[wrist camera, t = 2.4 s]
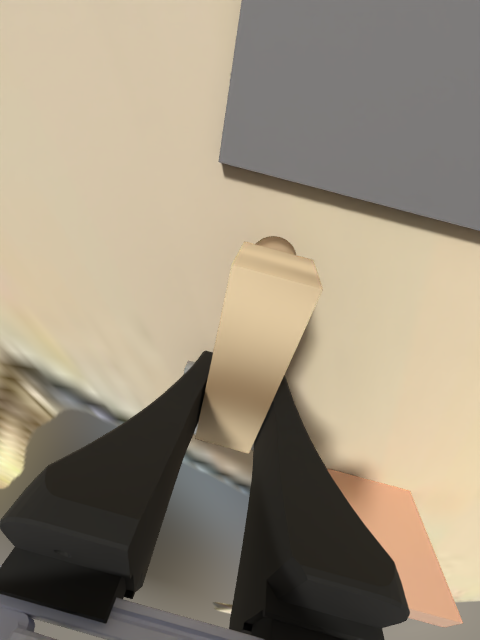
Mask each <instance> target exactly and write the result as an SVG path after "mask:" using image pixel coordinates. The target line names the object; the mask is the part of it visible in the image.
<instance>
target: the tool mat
mask: <svg viewBox="0 0 480 640" xmlns="http://www.w3.org/2000/svg"><path fill="white" fill-rule="evenodd" d="M219 162H220V163H224V164H228V165H231V166H235V167H239V168H243V169H247V170H250V171H254V172H258V173H262V174H266V175H269V176H273V177H277V178H281V179H285V180H288V181H292V182H296V183H300V184H304V185H307V186H311V187H315V188H319V189H323V190H326V191H330V192H334V193H338V194H342V195H345V196H349V197H353V198H357V199H361V200H364V201H368V202H372V203H376V204H380V205H383V206H387V207H391V208H395V209H399V210H402V211H406V212H410V213H414V214H418V215H421V216H425V217H429V218H433V219H437V220H440V221H444V222H448V223H452V224H456V225H459V226H463V227H467V228H471V229H475V230H478V231H480V0H242V2H241V9H240V16H239V23H238V30H237V37H236V44H235V51H234V58H233V65H232V72H231V79H230V86H229V93H228V99H227V106H226V113H225V120H224V127H223V134H222V141H221V148H220V155H219Z"/></svg>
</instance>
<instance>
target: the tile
mask: <svg viewBox="0 0 480 640" xmlns="http://www.w3.org/2000/svg"><path fill="white" fill-rule="evenodd" d="M327 470H328V472H329V473H330V475H331V477H332V478H333V480H334V481H335V483H336V484H337V486H338V487H339V489H340V490H341V492H342V493H343V495H344V496H345V498H346V499H347V501H348V502H349V504H350V505H351V506H352V508H353V509H354V511H355V512H356V513H357V515H358V516H359V517H360V519H361V520H362V522H363V523H364V524H365V526H366V527H367V528H368V529H369V531H370V532H371V533H372V534H373V536H374V537H375V538H376V539H377V541H378V542H379V543H380V544H381V546H382V547H383V548H384V549H385V551H386V552H387V553H388V554H389V556H390V557H391V558H392V559H393V561H394V562H395V565H396V568H397V571H398V574H399V577H400V579H401V582H402V586H403V589H404V593H405V597H406V600H407V604H408V607H409V611H410V615H409V617H408V618H411V619H415V620H418V621H422V622H426V623H429V624H433V625H437V626H440V627H448V626H453V625H458V624H462V623H463V622H462V619H461V617H460V614H459V612H458V609H457V607H456V604H455V602H454V599H453V597H452V594H451V592H450V589H449V587H448V584H447V582H446V579H445V577H444V574H443V572H442V569H441V567H440V564H439V562H438V559H437V557H436V554H435V552H434V549H433V547H432V544H431V542H430V539H429V537H428V534H427V532H426V530H425V527H424V525H423V522H422V520H421V517H420V515H419V512H418V510H417V507H416V505H415V502H414V500H413V497H412V495H411V492H410V491H409V490H405V489H401V488H398V487H394V486H390V485H387V484H383V483H379V482H375V481H372V480H368V479H364V478H361V477H357V476H353V475H349V474H346V473H342V472H338V471H335V470H331V469H327Z"/></svg>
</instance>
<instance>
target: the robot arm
mask: <svg viewBox="0 0 480 640" xmlns="http://www.w3.org/2000/svg"><path fill="white" fill-rule="evenodd" d="M212 356H213V353H212V352H208V351H204V352H203V353H202V355H201V356H200V357H199V358H198V360H197V361H196V362H195V363H194V364H193V365H192V367H191V368H190V369H189V370H188V371H187V372H186V373H185V374H184V375H183V376H182V377H181V378H180V379H179V380H178V381H177V382H176V383H175V384H174V385H172V386H171V387H170V388H169V389H168V390H167V391H166V392H165V393H163V394H162V395H161V396H160V397H159V398H157V399H156V400H155V401H154V402H152V403H151V404H150V405H149V406H147V407H146V408H145V409H143V410H142V411H140V412H139V413H138V414H136V415H135V416H133V417H132V418H130V419H129V420H128V421H126V422H125V423H123V424H122V425H120V426H118V427H117V428H115V429H114V430H112V431H110V432H109V433H107V434H105V435H103V436H102V437H100V438H98V439H97V440H95V441H93V442H92V443H90V444H88V445H86V446H85V447H83V448H81V449H79V450H77V451H75V452H73V453H71V454H70V455H68V456H66V457H64V458H62V459H60V460H58V461H56V462H54V463H52V464H50V465H48V466H47V467H46V468H45V469H44V470H43V471H42V472H41V473H40V474H39V475H38V476H37V477H36V478H35V479H34V480H33V482H32V483H31V484H30V485H29V486H28V487H27V488H26V489H25V490H24V492H23V493H22V494H21V495H20V497H19V498H18V499H17V500H16V501H15V503H14V504H13V505H12V506H11V508H10V509H9V510H8V511H7V513H6V514H5V515H4V516H3V517H2V519H1V521H0V529H1V531H2V532H3V533H4V534H5V535H6V537H7V538H8V539H9V540H10V541H11V543H13V545H14V546H15V548H14V549H13V550H12V552H11V553H10V555H9V556H8V558H7V559H6V560H5V562H4V563H3V564H2V565H0V640H57V639H53V638H50V637H47V636H44V635H41V634H38V633H35V632H34V628H35V623H34V620H33V619H37V620H40V621H44V622H47V623H50V624H54V625H58V626H61V627H65V628H68V629H72V630H76V631H79V632H82V633H86V634H89V635H93V636H96V637H100V638H103V639H107V640H384V636H383V631H382V628H383V627H387V626H391V625H395V624H399V623H402V622H404V621H406V620H407V618H408V617H409V615H410V611H409V607H408V604H407V600H406V597H405V593H404V589H403V586H402V582H401V579H400V577H399V574H398V571H397V568H396V565H395V562H394V561H393V559H392V558H391V557H390V556H389V554H388V553H387V552H386V551H385V549H384V548H383V547H382V546H381V544H380V543H379V542H378V541H377V539H376V538H375V537H374V536H373V534H372V533H371V532H370V531H369V529H368V528H367V527H366V526H365V524H364V523H363V522H362V520H361V519H360V517H359V516H358V515H357V513H356V512H355V511H354V509H353V508H352V506H351V505H350V504H349V502H348V501H347V499H346V498H345V496H344V495H343V493H342V492H341V490H340V489H339V487H338V486H337V484H336V483H335V481H334V480H333V478H332V477H331V475H330V473H329V472H328V470H327V468H326V467H325V465H324V463H323V462H322V460H321V458H320V456H319V455H318V453H317V451H316V449H315V447H314V445H313V443H312V441H311V439H310V438H309V435H308V433H307V431H306V429H305V427H304V425H303V423H302V420H301V418H300V416H299V413H298V411H297V409H296V406H295V404H294V401H293V398H292V396H291V393H290V390H289V387H288V384H287V381H286V378H285V375H284V377H283V379H282V381H281V383H280V386H279V388H278V390H277V392H276V394H275V397H274V399H273V401H272V403H271V406H270V408H269V410H268V412H267V414H266V417H265V419H264V421H263V423H262V425H261V428H260V430H259V432H258V434H257V437H256V439H255V441H254V452H253V471H252V482H251V489H250V497H249V504H248V512H247V518H246V525H245V532H244V538H243V546H242V551H241V558H240V564H239V570H238V576H237V582H236V588H235V594H234V600H233V606H232V611H231V617H230V627H229V629H226V628H223V627H219V626H216V625H212V624H209V623H205V622H202V621H198V620H194V619H191V618H187V617H184V616H180V615H176V614H173V613H170V612H166V611H162V610H159V609H155V608H152V607H148V606H145V605H141V604H138V603H134V602H130V601H127V600H123V597H126V598H130V599H133V596H134V594H135V592H136V591H137V590H139V589H140V588H141V587H142V586H143V582H144V579H145V576H146V573H147V570H148V566H149V563H150V560H151V557H152V554H153V550H154V547H155V544H156V541H157V538H158V535H159V532H160V528H161V525H162V522H163V519H164V516H165V513H166V510H167V506H168V503H169V500H170V497H171V494H172V491H173V488H174V485H175V482H176V479H177V476H178V473H179V469H180V466H181V464H182V461H183V458H184V455H185V453H186V450H187V448H188V445H189V443H190V441H191V438H192V436H193V434H194V431H195V429H196V427H197V424H198V422H199V417H200V413H201V408H202V403H203V398H204V394H205V389H206V384H207V379H208V375H209V370H210V365H211V361H212ZM32 618H33V619H32Z"/></svg>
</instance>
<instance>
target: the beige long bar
mask: <svg viewBox="0 0 480 640" xmlns="http://www.w3.org/2000/svg"><path fill="white" fill-rule="evenodd" d="M322 290H323V288H322V285H321V282H320V279H319V276H318V273H317V270H316V267H315V264H314V261H313V260H311V259H308V258H304V257H300V256H296V252H295V250H294V248H293V246H292V245H291V244H290V243H289V242H288V241H287V240H285V239H283V238H281V237H276V236H271V237H266V238H263V239H261V240H260V241H258V242H257V243H256V244H252V243H248V242H244V243H243V245H242V247H241V249H240V251H239V252H238V254H237V256H236V258H235V260H234V261H233V263H232V266H231V271H230V275H229V280H228V285H227V290H226V294H225V299H224V304H223V309H222V313H221V318H220V323H219V327H218V332H217V337H216V342H215V346H214V351H213V356H212V361H211V365H210V370H209V375H208V379H207V384H206V389H205V394H204V398H203V403H202V408H201V413H200V417H199V422H198V424H197V427H196V429H195V431H194V434H196V436H195V439H198V440H201V441H205V442H209V443H212V444H216V445H219V446H223V447H227V448H230V449H234V450H237V451H241V452H244V453H248V454H249V452H250V450H254V441H255V439H256V437H257V434H258V432H259V430H260V428H261V425H262V423H263V421H264V419H265V417H266V414H267V412H268V410H269V408H270V406H271V403H272V401H273V399H274V397H275V394H276V392H277V390H278V388H279V386H280V383H281V381H282V379H283V377H284V375H285V372H286V370H287V368H288V366H289V363H290V361H291V359H292V357H293V355H294V352H295V350H296V348H297V346H298V343H299V341H300V339H301V337H302V335H303V332H304V330H305V328H306V326H307V324H308V321H309V319H310V317H311V315H312V312H313V310H314V308H315V306H316V304H317V301H318V299H319V297H320V295H321V293H322ZM194 363H195V362H191V361H188V362H187V364H186V366H185V370H184V374H185V373H186V372H187V371H188V370H189V369H190V368H191V367H192V365H193V364H194Z"/></svg>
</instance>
